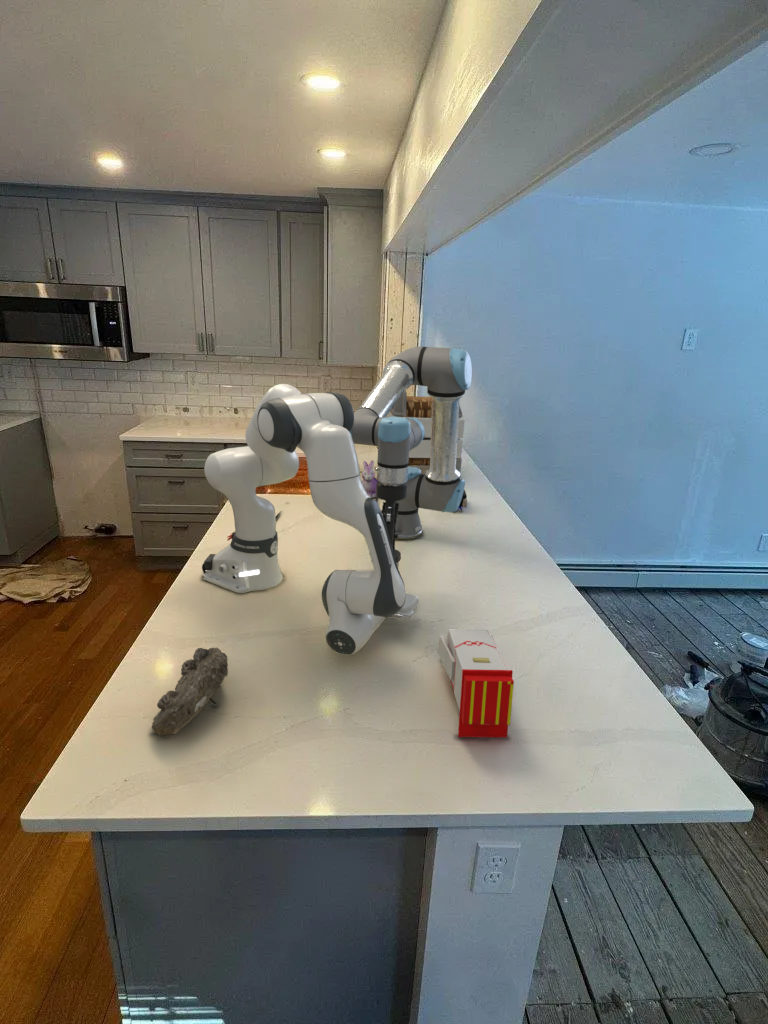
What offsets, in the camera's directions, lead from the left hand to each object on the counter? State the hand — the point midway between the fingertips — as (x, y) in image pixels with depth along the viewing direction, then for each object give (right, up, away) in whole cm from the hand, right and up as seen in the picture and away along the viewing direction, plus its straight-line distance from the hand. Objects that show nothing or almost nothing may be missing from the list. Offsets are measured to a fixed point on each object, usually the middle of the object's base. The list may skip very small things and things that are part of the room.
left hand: (387, 586), depth 149 cm
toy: (+17, -18, -30) cm, 39 cm away
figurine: (-7, +26, +90) cm, 94 cm away
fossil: (-38, -18, -37) cm, 56 cm away
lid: (0, +9, -4) cm, 10 cm away
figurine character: (+28, +21, +81) cm, 88 cm away
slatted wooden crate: (+16, +38, +126) cm, 133 cm away
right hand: (0, +5, -3) cm, 6 cm away
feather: (-40, +18, +64) cm, 78 cm away
